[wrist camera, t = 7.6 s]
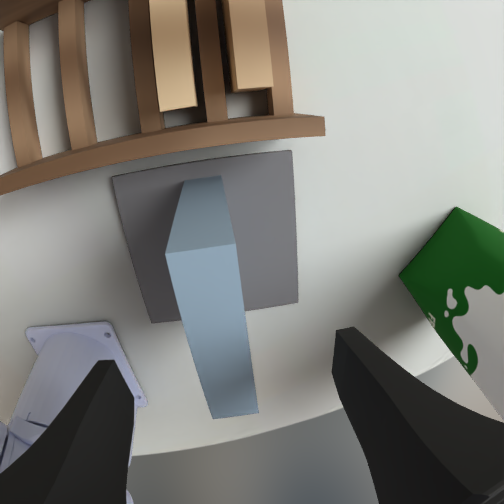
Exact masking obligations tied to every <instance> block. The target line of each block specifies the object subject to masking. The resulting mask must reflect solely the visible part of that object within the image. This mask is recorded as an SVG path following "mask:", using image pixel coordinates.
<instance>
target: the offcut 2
mask: <svg viewBox="0 0 504 504" xmlns="http://www.w3.org/2000/svg"><path fill="white" fill-rule="evenodd" d="M221 2H222V12H223V22H224V32H225V41H226V51H227V60H228V70H229V79H230V89H231V93H238V92H249V91H259V90H263V89H266V88H270V87H273V86H274V85H273V75H272V64H271V55H270V45H269V36H268V27H267V18H266V9H265V1H264V0H221Z"/></svg>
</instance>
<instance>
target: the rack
mask: <svg viewBox="0 0 504 504" xmlns="http://www.w3.org/2000/svg"><path fill="white" fill-rule="evenodd" d="M88 1H91V0H0V30H2V31H4V71H5V85H6V96H7V106H8V114H9V121H10V128H11V134H12V140H13V146H14V151H15V156H16V161H17V166H18V168H15V169H13V170H11V171H9V172H7V173H5V174H2V175H0V195H3V194H6V193H9V192H12V191H15V190H18V189H21V188H25V187H28V186H31V185H34V184H38V183H41V182H45V181H48V180H52V179H55V178H59V177H62V176H66V175H70V174H74V173H78V172H82V171H86V170H90V169H94V168H98V167H102V166H107V165H111V164H116V163H120V162H125V161H130V160H135V159H140V158H145V157H150V156H155V155H161V154H167V153H172V152H178V151H185V150H191V149H197V148H204V147H211V146H219V145H226V144H235V143H243V142H252V141H262V140H273V139H285V138H298V137H314V136H325V120H324V117H322V116H314V115H305V114H296V113H294V112H293V99H292V88H291V77H290V66H289V56H288V46H287V37H286V28H285V20H284V12H283V4H282V0H264V1H265V9H266V18H267V27H268V36H269V45H270V55H271V64H272V75H273V85H274V86H273V87H270V88H266V91H267V102H268V113H269V115H259V116H249V117H239V118H230V119H228V116H227V107H226V97H225V88H224V79H223V69H222V60H221V50H220V40H219V31H218V21H217V11H216V1H215V0H195V9H196V20H197V30H198V40H199V50H200V60H201V69H202V78H203V87H204V96H205V105H206V114H207V121H206V122H199V123H193V124H186V125H180V126H174V127H168V128H165V124H164V116H163V112H160V107H159V100H158V91H157V83H156V74H155V65H154V55H153V44H152V33H151V20H150V5H149V0H128V6H129V23H130V37H131V49H132V60H133V69H134V79H135V87H136V96H137V103H138V111H139V118H140V125H141V132H142V133H137V134H132V135H128V136H123V137H119V138H114V139H110V140H106V141H102V142H98V143H97V137H96V131H95V124H94V118H93V111H92V103H91V96H90V87H89V78H88V68H87V56H86V42H85V22H84V3H85V2H88ZM55 13H58V28H59V51H60V66H61V77H62V87H63V96H64V104H65V111H66V118H67V125H68V131H69V137H70V143H71V148H72V150H68V151H65V152H61V153H58V154H55V155H51V156H48V157H45V158H42V153H41V148H40V142H39V136H38V130H37V124H36V117H35V110H34V102H33V93H32V83H31V71H30V53H29V25H30V24H32V23H34V22H37V21H39V20H41V19H43V18H46V17H48V16H50V15H53V14H55Z"/></svg>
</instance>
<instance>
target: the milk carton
mask: <svg viewBox="0 0 504 504" xmlns="http://www.w3.org/2000/svg"><path fill="white" fill-rule="evenodd" d="M399 277H400V278H401V280H402V281H403V283H404V284H405V286H406V287H407V289H408V290H409V291H410V293H411V294H412V296H413V297H414V299H415V300H416V302H417V303H418V305H419V306H420V308H421V309H422V311H423V313H424V314H425V316H426V317H427V319H428V320H429V322H430V323H431V325H432V326H433V328H434V329H435V331H436V332H437V334H438V335H439V336H440V338H441V339H442V340H443V341H444V343H445V344H446V345H447V347H448V348H449V350H450V351H451V352H452V353H453V355H454V356H455V357H456V358H457V360H458V361H459V362H460V363H461V364H462V366H463V367H464V368H465V370H466V371H467V372H468V374H469V375H470V376H471V378H472V379H473V380H474V382H475V383H476V384H477V386H478V387H479V388H480V389H481V391H482V392H483V393H484V395H485V396H486V398H487V399H488V400H489V402H490V403H491V405H492V406H493V407H494V409H495V410H496V411H497V413H498V414H499V415H500V416H501V417H502V419H503V420H504V232H503V231H502V230H500V229H498V228H496V227H494V226H493V225H491V224H489V223H487V222H485V221H483V220H481V219H479V218H478V217H476V216H474V215H472V214H470V213H468V212H466V211H464V210H462V209H460V208H458V207H455V209H454V210H453V211H452V212H451V214H450V215H449V216H448V218H447V219H446V220H445V221H444V223H443V224H442V225H441V226H440V228H439V229H438V230H437V231H436V233H435V234H434V235H433V236H432V238H431V239H430V240H429V241H428V242H427V244H426V245H425V246H424V247H423V248H422V250H421V251H420V252H419V253H418V254H417V255H416V257H415V258H414V259H413V260H412V261H411V262H410V263H409V265H408V266H407V267H406V268H405V269H404V270H403V271H402V272H401V274H400V275H399Z"/></svg>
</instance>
